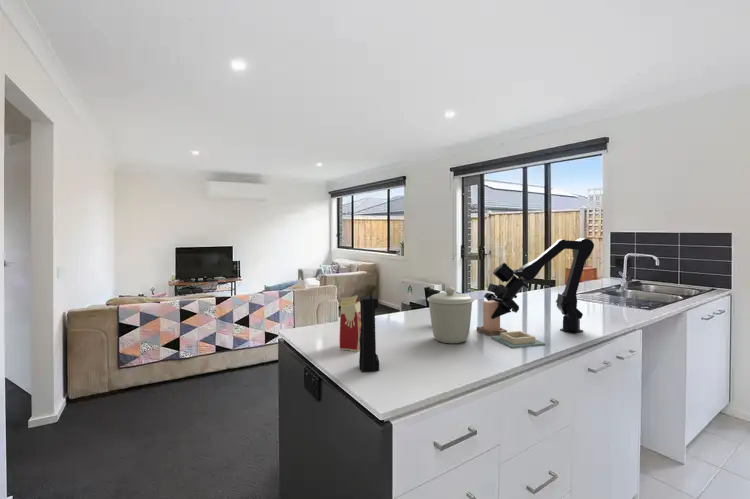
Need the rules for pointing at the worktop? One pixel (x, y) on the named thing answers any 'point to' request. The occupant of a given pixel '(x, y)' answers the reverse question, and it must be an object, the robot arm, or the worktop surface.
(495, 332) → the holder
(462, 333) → the canister
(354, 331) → the milk carton
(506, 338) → the mat
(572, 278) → the robot arm
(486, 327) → the peg
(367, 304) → the portable radio
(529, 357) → the worktop surface
